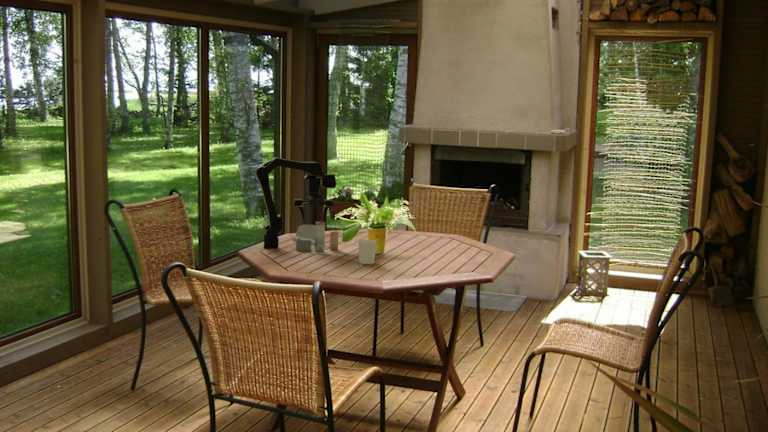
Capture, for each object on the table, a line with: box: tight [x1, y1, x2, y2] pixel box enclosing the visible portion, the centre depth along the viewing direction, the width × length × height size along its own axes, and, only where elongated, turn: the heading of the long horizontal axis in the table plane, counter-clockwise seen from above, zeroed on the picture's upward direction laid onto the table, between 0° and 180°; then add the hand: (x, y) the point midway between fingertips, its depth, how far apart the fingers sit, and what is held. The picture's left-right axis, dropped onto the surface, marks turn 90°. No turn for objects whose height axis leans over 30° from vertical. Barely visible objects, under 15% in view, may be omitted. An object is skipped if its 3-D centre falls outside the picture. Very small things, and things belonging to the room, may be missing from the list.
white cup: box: [358, 238, 377, 265], centre depth 370 cm, size 8×8×10 cm
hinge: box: [292, 224, 316, 247], centre depth 411 cm, size 17×5×10 cm, turn 50°
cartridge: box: [314, 221, 326, 253], centre depth 387 cm, size 5×5×14 cm
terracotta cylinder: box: [328, 230, 339, 252], centre depth 396 cm, size 4×4×9 cm
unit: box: [295, 238, 312, 252], centre depth 393 cm, size 7×4×6 cm, turn 97°
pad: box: [310, 249, 330, 255], centre depth 388 cm, size 8×8×1 cm
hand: (313, 220), depth 398 cm, fingers open, 9 cm apart
